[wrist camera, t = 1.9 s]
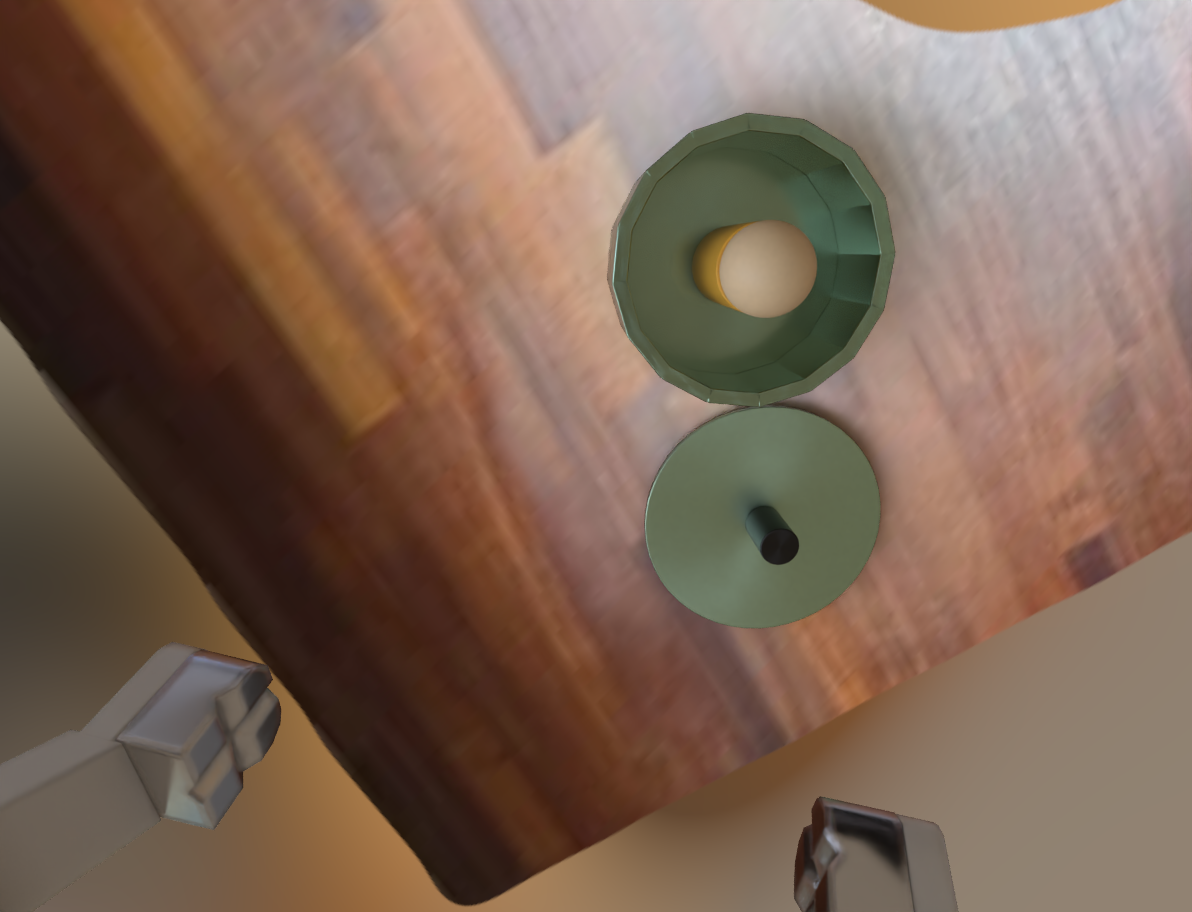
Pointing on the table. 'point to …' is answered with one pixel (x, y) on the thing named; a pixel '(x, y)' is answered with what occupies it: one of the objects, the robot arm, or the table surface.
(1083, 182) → the table surface
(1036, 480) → the table surface
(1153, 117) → the table surface
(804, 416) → the lid
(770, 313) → the toy
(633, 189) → the pot
